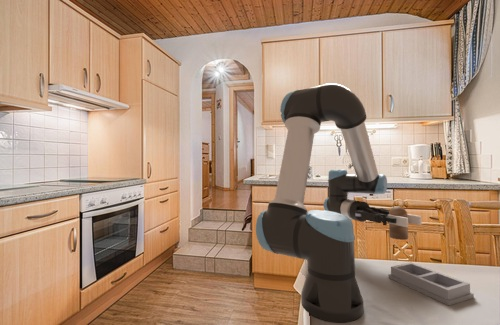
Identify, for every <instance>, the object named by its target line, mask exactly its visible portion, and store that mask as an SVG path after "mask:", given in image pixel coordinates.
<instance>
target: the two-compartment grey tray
mask: <svg viewBox="0 0 500 325" xmlns="http://www.w3.org/2000/svg"><path fill="white" fill-rule="evenodd" d="M388 278H389V279H391V280H393V281H395V282H397V283H398V284H401V285H404V286H405V287H408V288H410V289H412V290H414V291H416V292H419V293H421V294H424V295H425V296H427V297H430V298H432V299H434V300H436V301H438V302H441V303H442V304H445V305H447V306H452V305H456V304H459V303H462V302H465V301H468V300H470V299H471V300H472V299H473V298H474V297H475V296H474V295H475V294H474V293H472V292H471V283H470V282H469V283H468V282H467V281H464V280H461V279H458V278H455V277H452V276H449V275H446V274H444V273H441V272H439V271H436V270H434V269H433V270H432V269H431V268H427V267H426V266H425V267H424V266H422V265H419V264H416V263H414V262H407V263H402V264H397V265H392V266H390V274H388Z"/></svg>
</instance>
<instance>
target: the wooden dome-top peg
mask: <svg viewBox="0 0 500 325" xmlns="http://www.w3.org/2000/svg"><path fill="white" fill-rule="evenodd" d="M389 210H390V211H389V215H394V216H400V217H405V218H408V217H407V214H408V212H407V210H406V209H405V208H404V207H402V206H399V205H397V206H392V207H391V208H390V209H389ZM388 225H389V226H388V229H389V230H388V231H389V232H388V234H389V235H388V236H389V238H391V239H394V240H401V241H402V240H403V241H405V240H408V239H409V229H408V228H409V226H408V227H403V226H398V225H394V224H389V223H388Z"/></svg>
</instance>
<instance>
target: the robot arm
mask: <svg viewBox="0 0 500 325" xmlns="http://www.w3.org/2000/svg"><path fill="white" fill-rule="evenodd" d="M279 113H281V114H280V118H281V120H282V122H283V124H284V127H285V128H286V130H287V134H286V138H285V139H286V140H285V144H284V151H283V153H282V154H283V155H282V159H281V164H280V168H279V169H280V170H279V175H278V181H277V184H276V191H275V197H274V198H273V199H272V200H270V201H268V205H267V209H265V210H262V211H261V212H260V214H259V215H258V216H257V218H256V221H255V223H256V224H255V236H256V239H257V242H258V243H259V245H260V247H261V248H262V249H263V250H265V251H268V252H270V253H273V254H277V255H282V256H288V257H292V258H296V259H301V260H305V261H306V265H307V272H306V273H307V274H306V277H305V281H304V283H303V286H302V290H301V294H300V297H301V301H300V303H301V306H302V308H303V309H304V310H305V311H306V313H308V314H310V315H311V316H313V317H315V318H318V319H320V320H322V321H326V322H327V321H328V322H332V323H347V322H352V321H356V320H357V319H360V318H361V317H362V316H363V315H364V312H365V311H364V299H363V296H362V292H361V290H360V287H359V284H358V282H357V279H356V264H355V263H356V260H355V258H356V257H355V255H356V254H355V252H356V250H355V249H356V248H355V240H356V236H355V232H354V230H355V229H354V223H353V221H352V220H354V221H356V222H362V223H364V222H366V221H369V222H373V223H377V224H381V223H382V225H383V226H387V225H389V224H394V225H398V226H403V227H408V228H409V224H412V225H417V226H422V216H421V215H416V214H412V213H411V214H410V213H407V217H408V218H405V217H400V216H394V215H389V211H390V209H387V208H383V207H381V208H377V207H375V206H371V205H369V203H367V202H366V201H362V200H356V199H349V198H348V195H349V194H369V195H370V194H371V195H383V194H385V193H386V192H387V190H388V179H387V176H386V175H385V174H381V173H379V172H378V167H377V164H376V159H375V156H374V153H373V149H372V145H371V142H370V138H369V135H368V131H367V126H366V124H365V122H366V120H367V113H366V109H365V107H364V105H363V103H362V101H361V100H360V98H359V97H358V96H357V95H356V94H355V93H354V92H353V91H352V90H350V89H349V88H348V87H346V86H344V85H341V84H338V83H334V82H333V83H325V84H321V85H317V86H311V87H308V88H302V89H296V90H294V91H290V92H288V93H287V94H286V95H285V96H284V97H283V98H282V101H281V103H280V112H279ZM331 121H332V122H334V124H335V126H336V128H337V129H339V130H340V131H341V134H342V137H343V140H344V143H345V147H346V149H347V152H348V154H349V158H350V160H351V163H352V167H353V169H354V170H353V171H354V172H355V173H348V171H347V169H331V170H329V171H328V177H327V178H328V180H327V182H328V185H327V186H328V197H326V198H325V200H324V202H323V209H324V210H320V209H310V210H308V209H307V208H306V206H305V205H304V202H305V195H306V190H307V189H306V188H307V182H308V175H309V170H310V164H311V156H312V151H313V144H314V138H315V134H317V133H319V131H320V130H321V124H322V123H324V122H331ZM348 193H349V194H348Z"/></svg>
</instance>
